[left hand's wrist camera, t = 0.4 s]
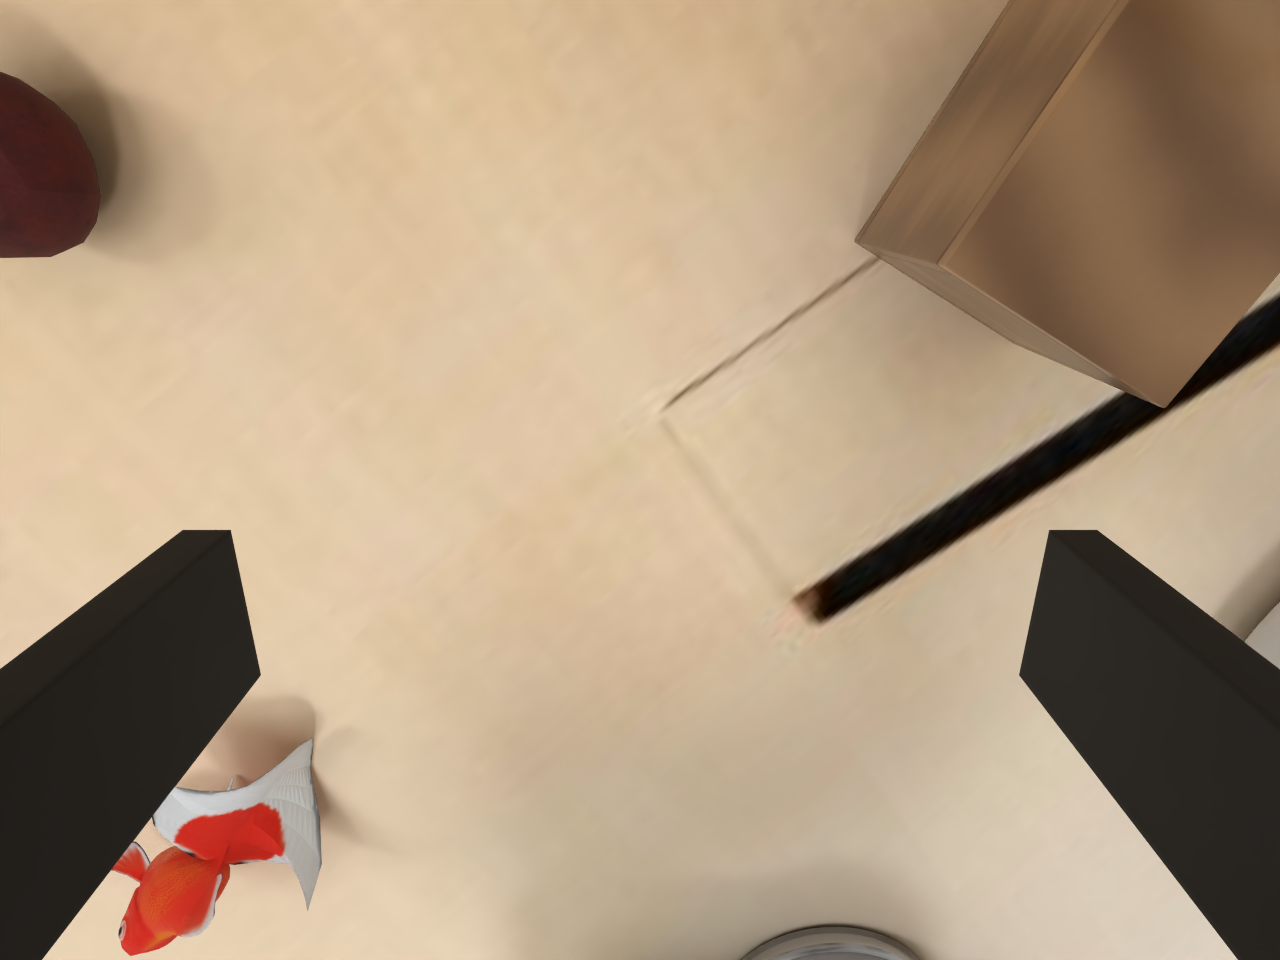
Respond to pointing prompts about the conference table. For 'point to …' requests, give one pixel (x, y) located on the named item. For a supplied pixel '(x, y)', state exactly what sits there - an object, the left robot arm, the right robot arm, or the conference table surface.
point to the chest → (983, 157)
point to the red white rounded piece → (220, 850)
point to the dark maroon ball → (42, 176)
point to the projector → (1267, 637)
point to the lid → (1143, 193)
